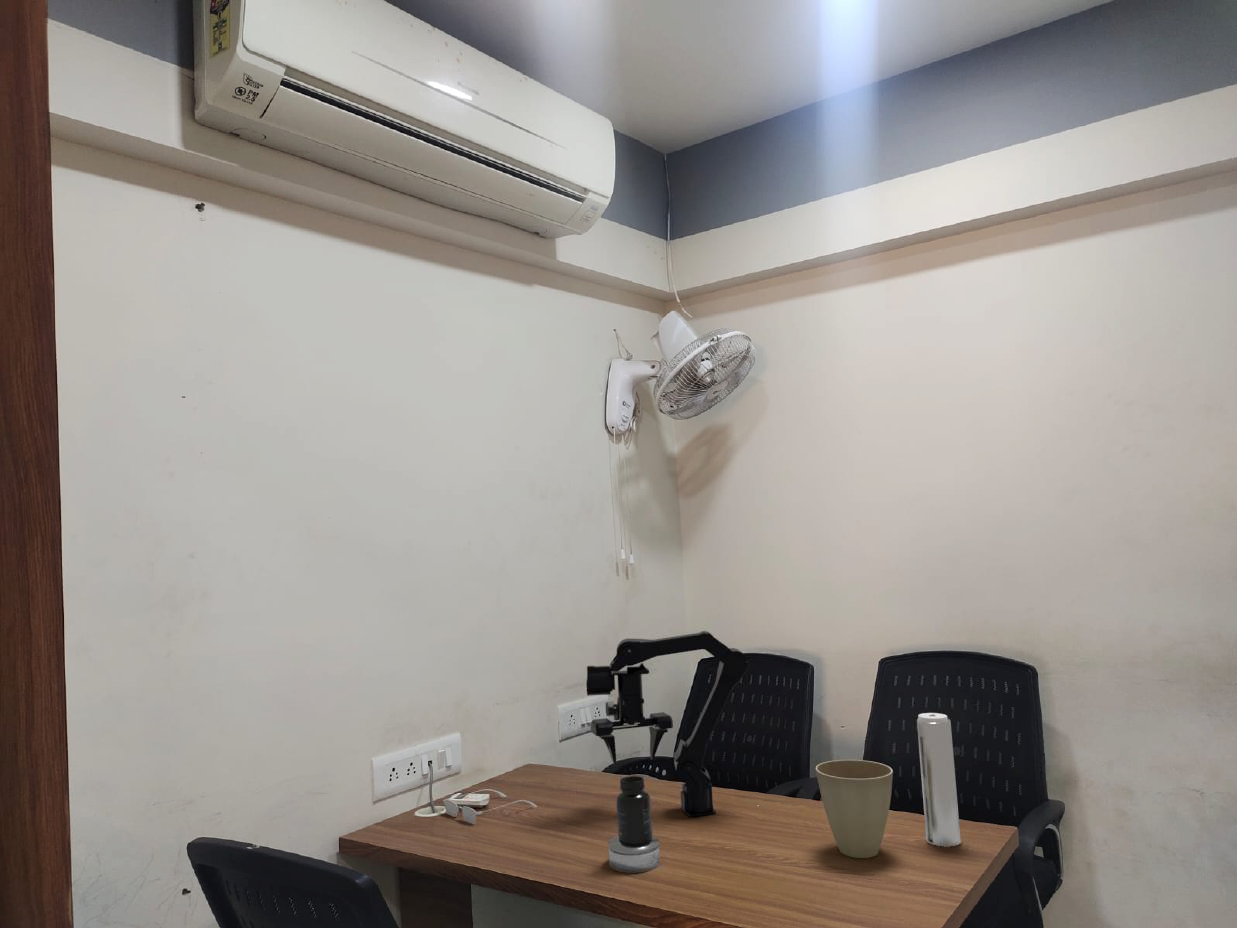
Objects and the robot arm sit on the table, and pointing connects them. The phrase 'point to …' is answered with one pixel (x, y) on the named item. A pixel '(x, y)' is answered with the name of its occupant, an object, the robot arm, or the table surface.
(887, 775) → the plant pot
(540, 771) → the table surface
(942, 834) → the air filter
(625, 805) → the supplement bottle
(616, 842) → the grey short cylinder
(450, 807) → the eyeglasses
